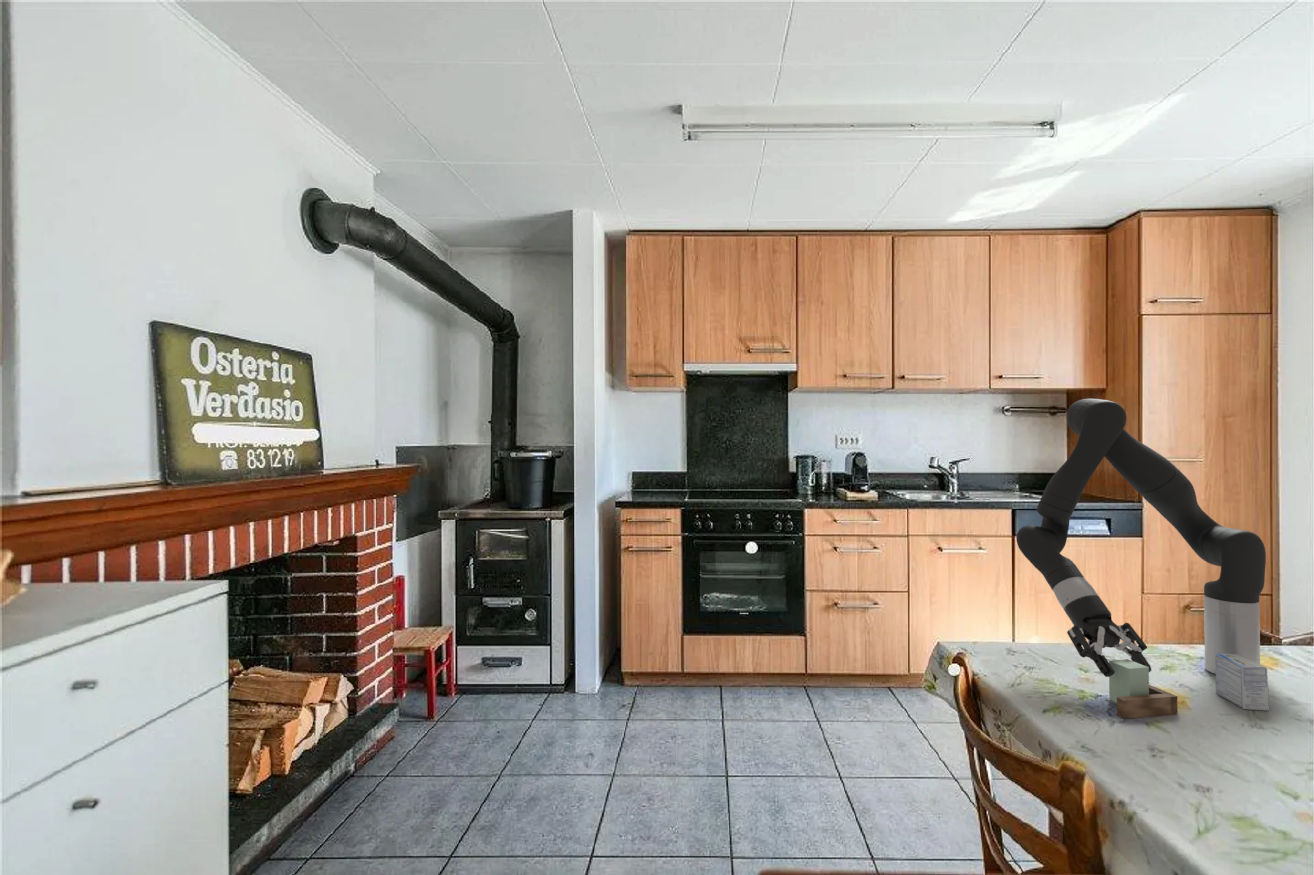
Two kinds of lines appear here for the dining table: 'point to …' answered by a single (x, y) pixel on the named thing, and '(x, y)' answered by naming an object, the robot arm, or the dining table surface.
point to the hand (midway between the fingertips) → (1129, 673)
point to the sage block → (1128, 679)
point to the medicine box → (1242, 681)
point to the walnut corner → (1147, 704)
